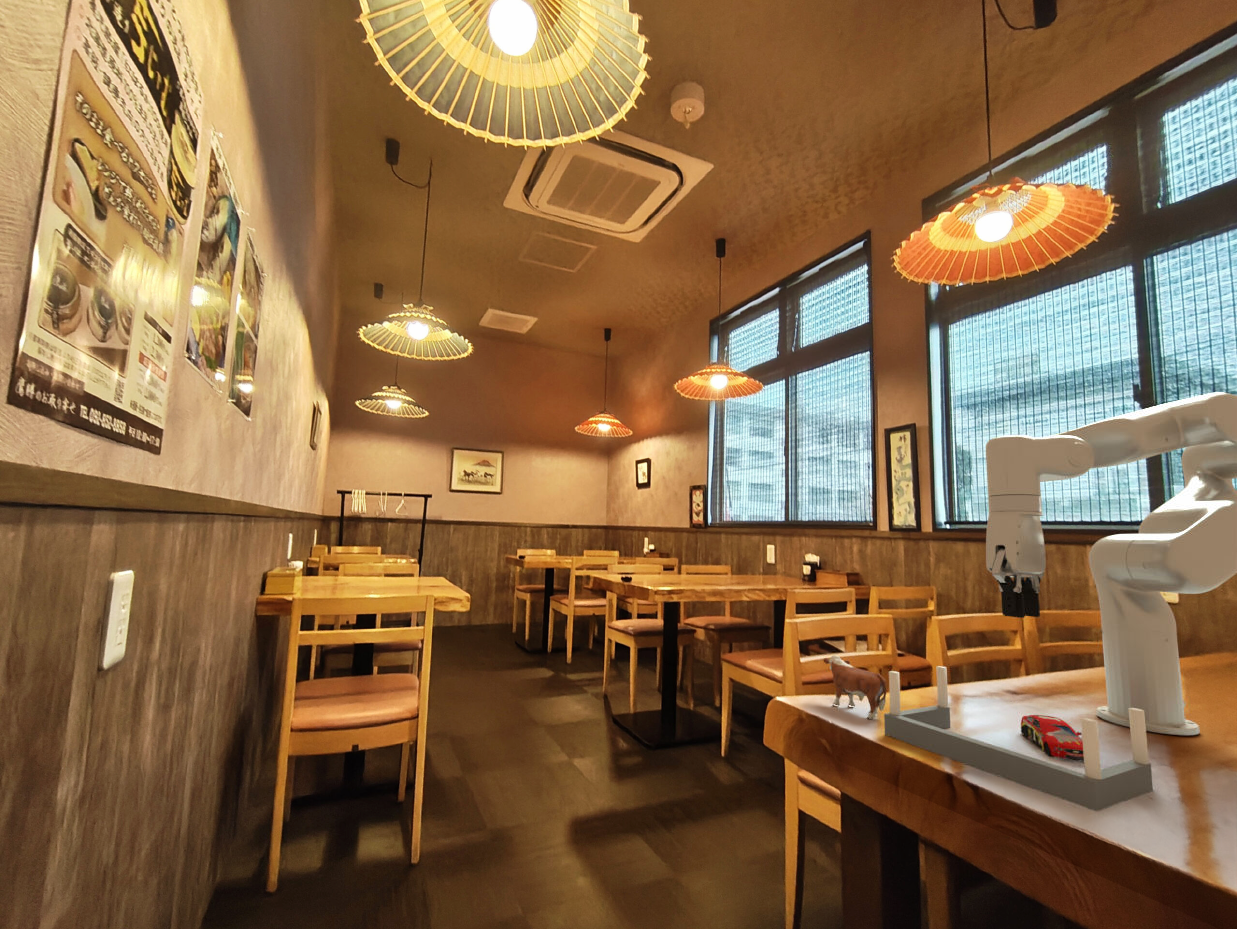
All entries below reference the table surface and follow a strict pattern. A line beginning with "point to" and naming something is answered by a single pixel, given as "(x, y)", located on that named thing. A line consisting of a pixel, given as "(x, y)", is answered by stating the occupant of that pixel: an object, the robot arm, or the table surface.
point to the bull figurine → (857, 684)
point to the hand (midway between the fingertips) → (1021, 615)
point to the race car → (1053, 736)
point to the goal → (1055, 780)
